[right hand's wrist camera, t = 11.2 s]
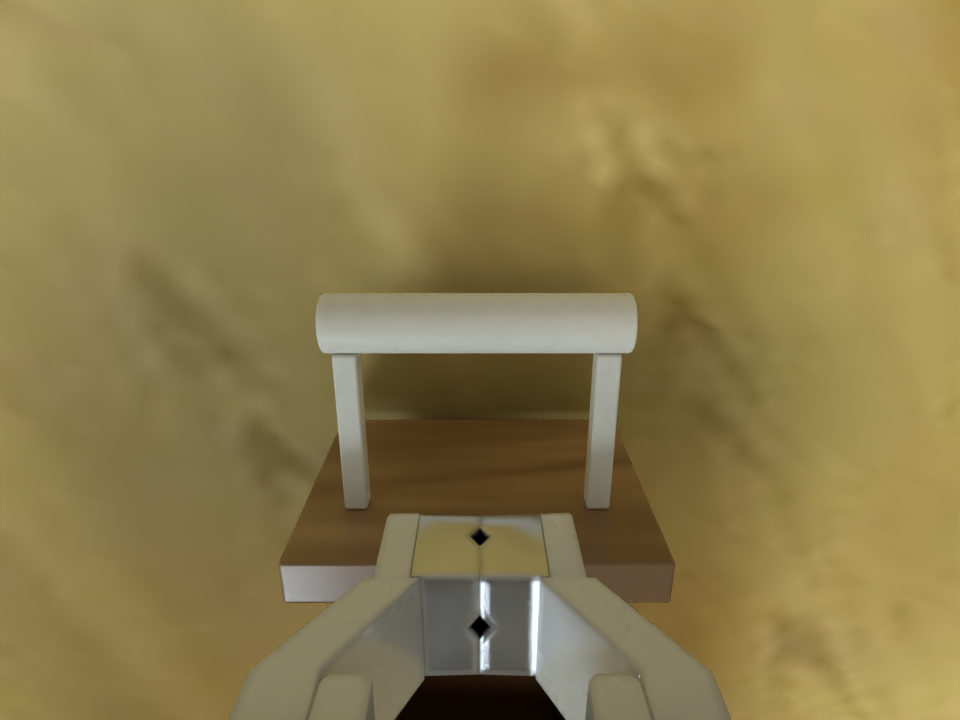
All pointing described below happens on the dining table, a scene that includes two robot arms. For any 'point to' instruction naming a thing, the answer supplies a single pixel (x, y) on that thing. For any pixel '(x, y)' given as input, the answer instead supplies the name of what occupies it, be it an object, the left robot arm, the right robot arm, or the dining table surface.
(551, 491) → the drawer
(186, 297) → the dining table surface
